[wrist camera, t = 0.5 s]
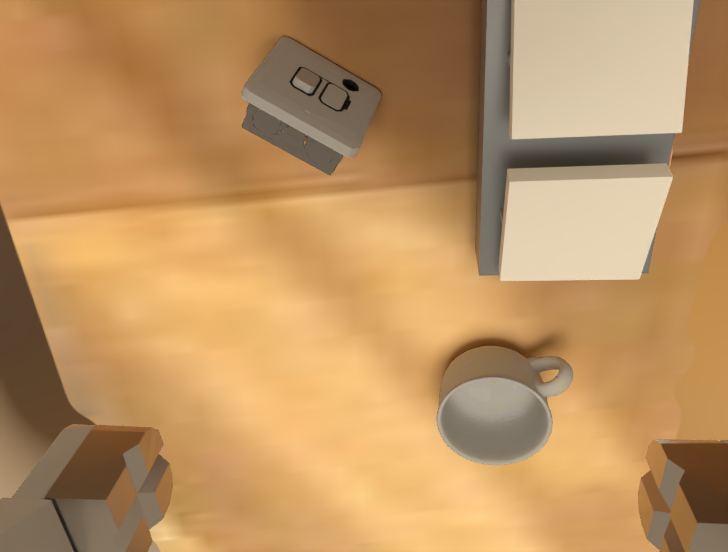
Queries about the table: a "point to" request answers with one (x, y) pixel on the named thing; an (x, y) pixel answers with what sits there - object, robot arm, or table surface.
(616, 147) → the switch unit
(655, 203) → the block
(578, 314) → the table surface
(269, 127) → the electrical switch
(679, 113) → the rocker
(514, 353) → the teacup
